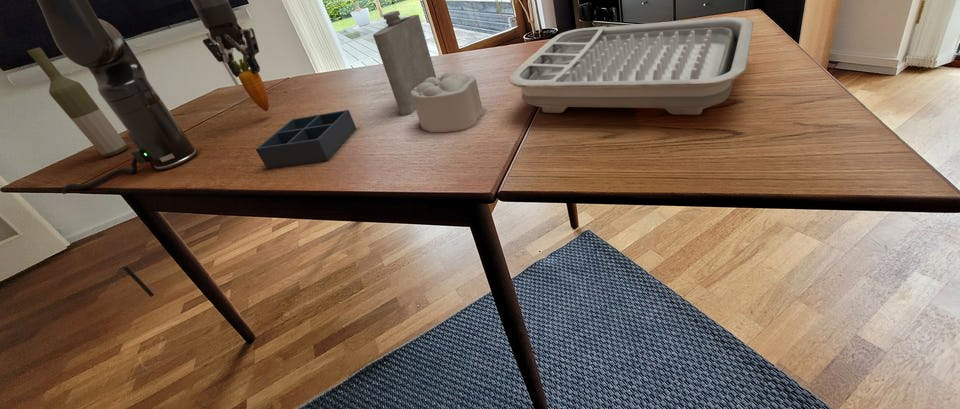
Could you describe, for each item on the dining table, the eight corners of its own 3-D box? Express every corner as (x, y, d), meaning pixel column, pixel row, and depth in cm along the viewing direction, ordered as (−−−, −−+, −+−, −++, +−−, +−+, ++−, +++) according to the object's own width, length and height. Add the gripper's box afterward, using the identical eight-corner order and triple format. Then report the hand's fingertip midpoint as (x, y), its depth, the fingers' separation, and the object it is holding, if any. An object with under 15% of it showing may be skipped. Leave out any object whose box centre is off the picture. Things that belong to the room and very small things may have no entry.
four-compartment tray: (266, 168, 84) (255, 149, 81) (301, 137, 95) (292, 119, 93) (328, 160, 80) (318, 139, 78) (356, 128, 92) (348, 109, 89)
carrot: (254, 115, 112) (224, 60, 103) (264, 108, 116) (236, 55, 107) (269, 113, 111) (241, 57, 102) (279, 106, 115) (252, 52, 106)
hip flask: (409, 114, 92) (377, 20, 81) (394, 115, 94) (362, 23, 83) (441, 87, 103) (417, 1, 92) (428, 88, 105) (403, 4, 94)
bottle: (120, 147, 124) (40, 47, 107) (135, 146, 121) (56, 42, 105) (97, 159, 118) (9, 55, 102) (113, 158, 116) (26, 51, 99)
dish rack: (736, 131, 57) (745, 75, 52) (505, 124, 76) (496, 83, 71) (749, 54, 77) (756, 10, 73) (564, 64, 96) (561, 29, 92)
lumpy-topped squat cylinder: (468, 130, 77) (457, 86, 72) (411, 133, 82) (397, 92, 78) (487, 107, 85) (478, 66, 80) (433, 111, 90) (421, 72, 85)
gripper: (246, -5, 100) (279, 65, 109) (198, 7, 103) (234, 74, 112) (226, 1, 93) (263, 74, 103) (176, 13, 97) (216, 83, 106)
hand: (247, 74), depth 107 cm, fingers closed on carrot, 5 cm apart
